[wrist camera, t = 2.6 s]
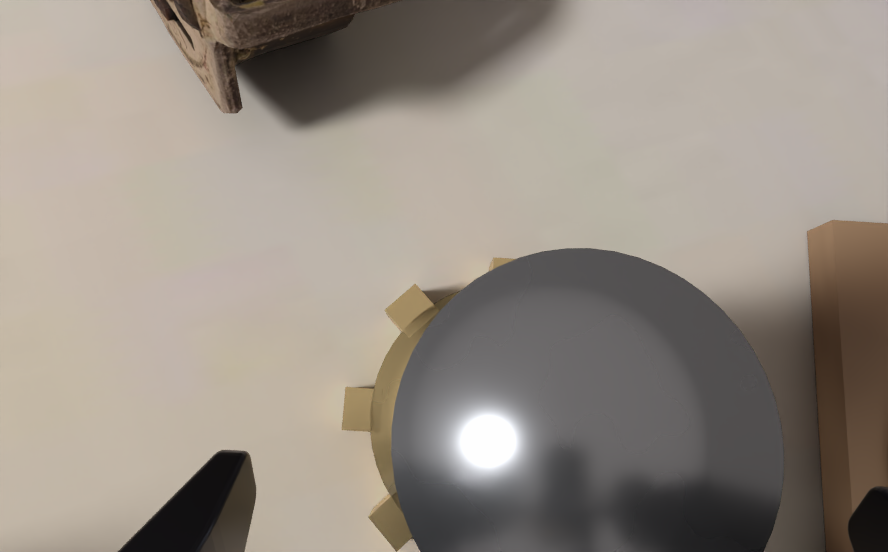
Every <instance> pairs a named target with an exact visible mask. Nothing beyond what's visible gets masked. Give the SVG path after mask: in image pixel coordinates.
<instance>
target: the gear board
mask: <svg viewBox="0 0 888 552" xmlns="http://www.w3.org/2000/svg"><path fill="white" fill-rule="evenodd" d="M807 236H808V253H809V270H810V287H811V304H812V321H813V337H814V354H815V371H816V388H817V405H818V422H819V439H820V456H821V473H822V490H823V507H824V524H825V541H826V552H854V551H853V548H852V545H851V542H850V539H849V535H848V521H849V518H850V516H851V515H852V514H853V512H854V511H855V509H856V508H857V507H858V505H859V504H860V502H861V501H862V499H863V498H864V497H865V495H866V494H867V492H868V491H869V490H870V489H871V488H873V487H876V486H884V487H888V224H887V223H871V222H855V221H839V220H832V221H830V222H827V223H825V224H823V225H821V226H818V227H816V228H814V229H812V230H809V231H807Z"/></svg>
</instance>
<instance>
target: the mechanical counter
mask: <svg viewBox="0 0 888 552" xmlns="http://www.w3.org/2000/svg"><path fill="white" fill-rule="evenodd" d="M150 1H151V2H152V4H153V6H154V7H155V9H156V10H157V12H158V14H159V15H160V17H161V19H162V21H163V23H164V24H165V26H166V28H167V30H168V32H169V33H170V35H171V37H172V38H173V40H174V41H175V43H176V44H177V46H178V47H179V49H180V51H181V52H182V54H183V55H184V57H185V58H186V60H187V61H188V63H189V64H190V66H191V67H192V68H193V70H194V71H195V73H196V74H197V76H198V77H199V79H200V80H201V82H202V83H203V85H204V86H205V88H206V89H207V91H208V92H209V94H210V95H211V97H212V98H213V100H214V101H215V103H216V104H217V106H218V107H219V109H220V110H221V111H222V112H223V113H238V112H239V111H240V110H241V109H242V103H241V97H240V92H239V87H238V82H237V76H236V71H235V65H236V64H238V63H241V62H243V61H246V60H248V59H251V58H253V57H256V56H258V55H260V54H263V53H266V52H269V51H273V50H276V49H280V48H283V47H286V46H290V45H293V44H296V43H300V42H303V41H306V40H310V39H313V38H316V37H320V36H323V35H327V34H330V33H333V32H335V31H338V30H340V29H343V28H345V27H347V25H348V24H349V23H350V22H351V21H352V19H353V17H354V15H355V14H356V13H360V12H364V11H367V10H371V9H375V8H379V7H382V6H385V5H388V4H391V3H394V2H398V1H401V0H150Z"/></svg>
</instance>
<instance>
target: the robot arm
mask: <svg viewBox="0 0 888 552" xmlns="http://www.w3.org/2000/svg"><path fill="white" fill-rule="evenodd" d="M255 499H256V484H255V479H254V473H253V468H252V462H251V458H250V455H249V453H248V452H246V451H237V450H221V451H219V452H217V453H216V454H215V455H214V456H213V457H212V458H211V459H210V460H209V461H208V462H207V463H206V464H205V465H204V466H203V467H202V468H201V469H200V470H199V471H198V472H197V473H196V474H195V475H194V476H193V477H192V478H191V479H190V480H189V481H188V482H187V483H186V484H185V485H184V486H183V487H182V488H181V489H180V490H179V491H178V492H177V493H176V494H175V495H174V496H173V497H172V498H171V499H170V500H169V501H168V502H167V503H166V504H165V505H164V506H163V507H162V508H161V509H160V510H159V511H158V512H157V513H156V514H155V515H154V516H153V517H152V518H151V519H150V520H149V521H148V522H147V523H146V524H145V525H144V526H143V527H142V528H141V529H140V530H139V531H138V532H137V533H136V534H135V535H134V536H133V537H132V538H131V539H130V540H129V541H128V542H127V543H126V544H125V545H124V546H123V547H122V548H121V549H120V550H119V551H118V552H244V551H245V546H246V542H247V537H248V533H249V528H250V524H251V519H252V514H253V510H254V505H255ZM848 535H849V539H850V542H851V545H852V548H853V551H854V552H888V487H884V486H876V487H873V488H871V489H870V490H869V491H868V492H867V494H866V495H865V497H864V498H863V499H862V501H861V502H860V504H859V505H858V507H857V508H856V509H855V511H854V512H853V514H852V515H851V516H850V518H849V521H848Z"/></svg>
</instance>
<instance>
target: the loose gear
mask: <svg viewBox="0 0 888 552" xmlns="http://www.w3.org/2000/svg"><path fill="white" fill-rule="evenodd" d="M385 312H386V314H387V315H388V317H389V318H390V319H391V320H392V321H393V323H394V324H395V325H396V326H397V327H398V328H399V329H400V331H401V332H402V333H401V334H400V335H399V336H398V338H397V339H396V340H395V342H394V343H393V345H392V347H391V348H390V350H389V352H388V353H387V355H386V357H385V359H384V361H383V363H382V366H381V368H380V371H379V373H378V376H377V379H376V383H375V387H374V389H370V388H353V387H346V388H345V399H344V411H343V422H342V430H352V431H368V432H371V441H372V448H373V453H374V457H375V461H376V465H377V468H378V470H379V473H380V475H381V478H382V480H383V483H384V485H385V487H386V489H387V490H388V492H389V494H388V495H387V496H386V497H385V498H384V499H383V500H382V501H381V502H380V503H379V504H378V505H376V506H375V507H374V508H373V509H372V511H371V513H370V515H369V519H370V520H371V521H372V522H373V523H374V525H375V526H376V527H377V528H378V530H379V531H380V532H381V533H382V534H383V536H384V537H385V538H386V539H387V541H388V542H389V543H390V544H391V545H392V547H393V548H394V549H395V550H396V551H398V550H399V549H400V548H401V547H402V546H403V545H404V544H405V543H406V542H408V541H409V540H410V539H411V538H412V537H413V539H414V540H415V542H416V544H417V546H418V548H419V550H420V551H421V552H763V551H764V549H765V547H766V544H767V542H768V540H769V537H770V535H771V533H772V530H773V527H774V524H775V520H776V516H777V513H778V509H779V506H780V500H781V493H782V486H783V479H784V446H783V437H782V428H781V422H780V418H779V414H778V410H777V405H776V401H775V398H774V395H773V392H772V390H771V387H770V384H769V381H768V379H767V376H766V374H765V372H764V370H763V368H762V366H761V364H760V362H759V360H758V358H757V356H756V354H755V352H754V350H753V349H752V348H751V346H750V345H749V343H748V342H747V340H746V339H745V337H744V336H743V334H742V333H741V331H740V330H739V329H738V327H737V326H736V325H735V324H734V323H733V322H732V320H731V319H730V318H729V317H728V316H727V315H726V314H725V312H724V311H723V310H722V309H721V308H720V307H719V306H717V305H716V304H715V303H714V302H713V301H712V300H711V299H710V298H709V297H708V296H706V295H705V294H704V293H703V292H702V291H700V290H699V289H697V288H696V287H695V286H693V285H692V284H690V283H689V282H688V281H686V280H685V279H683V278H681V277H680V276H678V275H676V274H674V273H672V272H670V271H669V270H667V269H665V268H663V267H661V266H659V265H656V264H653V263H651V262H648V261H646V260H643V259H641V258H638V257H634V256H630V255H626V254H623V253H619V252H615V251H607V250H599V249H591V248H577V249H559V250H551V251H544V252H539V253H536V254H532V255H528V256H524V257H521V258H518V259H508V258H493V260H492V262H491V264H490V267H489V272H488V273H486V274H484V275H482V276H481V277H479V278H477V279H476V280H474V281H473V282H472V283H470V284H469V285H468V286H467V287H465V288H464V289H463V290H461V291H459V292H457V293H454V294H452V295H449V296H447V297H445V298H443V299H441V300H440V301H438V302H436V303H435V304H433V303H432V302H431V301H430V300H429V299H428V297H427V296H426V295H425V294H424V293H423V292H422V291H421V290H420V288H419V287H418V286H417V285H416V284H414V285H413V286H412V287H411V288H410V289H409V290H407V291H406V292H405V293H404V294H403V295H402V296H400V297H399V298H398V299H397V300H396V301H395V302H394V303H392V304H391V305H390V306H389V307H388V308H387V309H385Z"/></svg>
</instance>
